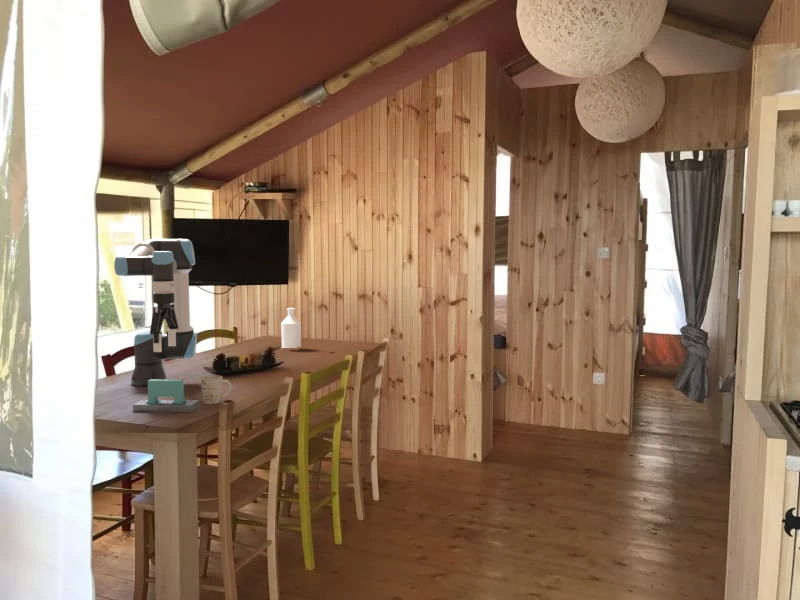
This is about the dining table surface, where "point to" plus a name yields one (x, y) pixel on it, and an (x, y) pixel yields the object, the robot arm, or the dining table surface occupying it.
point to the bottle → (291, 331)
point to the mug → (213, 388)
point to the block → (166, 406)
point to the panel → (165, 390)
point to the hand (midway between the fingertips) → (165, 349)
